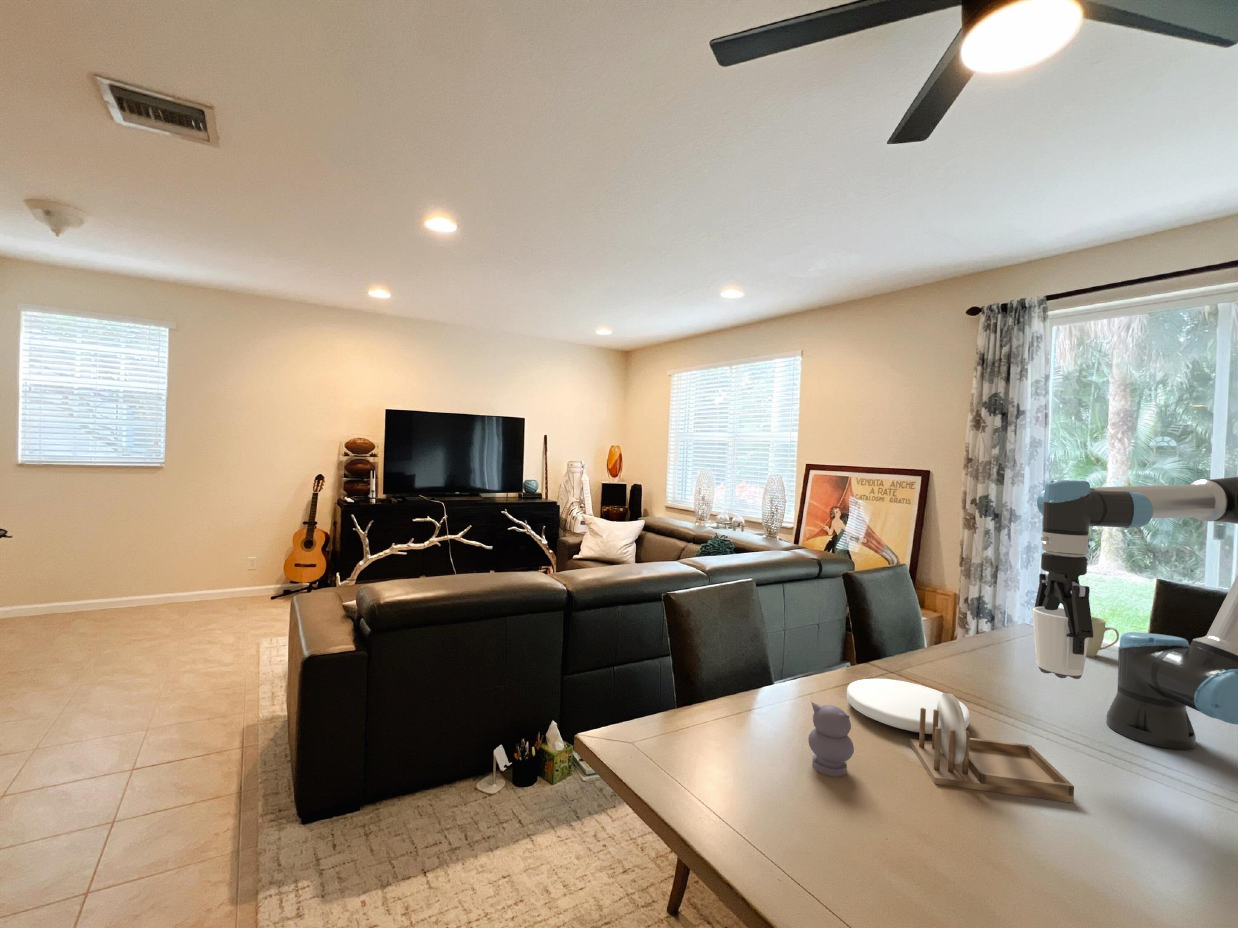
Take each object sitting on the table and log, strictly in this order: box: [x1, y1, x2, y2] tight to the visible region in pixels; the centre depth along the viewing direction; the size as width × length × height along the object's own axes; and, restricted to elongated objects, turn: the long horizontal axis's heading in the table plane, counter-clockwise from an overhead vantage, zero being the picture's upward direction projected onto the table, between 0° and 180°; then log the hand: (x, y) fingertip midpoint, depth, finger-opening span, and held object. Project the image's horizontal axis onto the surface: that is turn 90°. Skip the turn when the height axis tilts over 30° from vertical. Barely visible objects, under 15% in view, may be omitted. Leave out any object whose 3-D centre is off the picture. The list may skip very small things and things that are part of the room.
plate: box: [846, 678, 971, 735], centre depth 137 cm, size 28×6×27 cm
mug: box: [1086, 616, 1120, 658], centre depth 189 cm, size 11×10×12 cm
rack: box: [909, 692, 1075, 803], centre depth 113 cm, size 23×15×14 cm
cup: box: [1031, 606, 1093, 680], centre depth 119 cm, size 10×10×13 cm
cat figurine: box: [807, 701, 855, 777], centre depth 112 cm, size 8×8×12 cm
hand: (1059, 660), depth 119 cm, fingers closed on cup, 10 cm apart
